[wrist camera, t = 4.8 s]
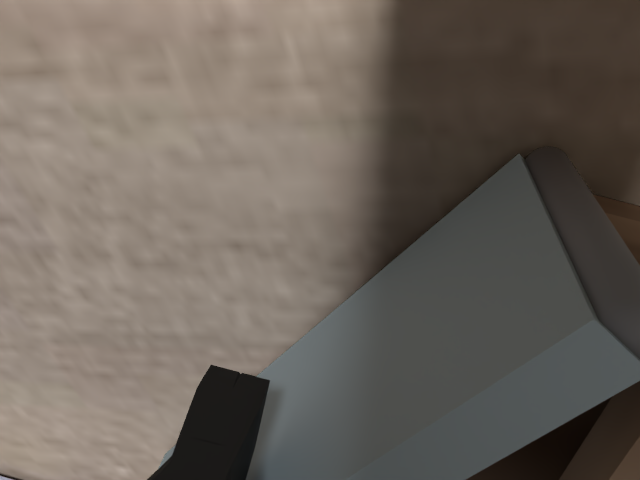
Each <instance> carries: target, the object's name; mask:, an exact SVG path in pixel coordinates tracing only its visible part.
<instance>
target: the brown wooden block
mask: <svg viewBox="0 0 640 480" xmlns="http://www.w3.org/2000/svg"><path fill="white" fill-rule="evenodd" d="M593 196H594V197H595V199H596V200H597V202H598V203H599V205H600V206H601V208H602V209H603V211H604V212H605V214H606V215H607V217H608V218H609V220H610V221H611V223H612V224H613V226H614V227H615V229H616V230H617V232H618V233H619V235H620V236H621V238H622V239H623V241H624V242H625V244H626V245H627V247H628V249H629V250H630V252H631V253H632V255H633V256H634V258H635V259H636V261H637V262H638V264H639V265H640V206H637V205H633V204H629V203H625V202H621V201H617V200H613V199H610V198H606V197H602V196H598V195H594V194H593ZM466 480H640V381H638V382H637V383H635V384H633V385H631V386H630V387H628V388H626V389H624V390H623V391H621V392H619V393H617V394H616V395H614V396H612V397H610V398H608V399H607V400H605V401H603V402H601V403H600V404H598V405H596V406H594V407H593V408H591V409H589V410H587V411H586V412H584V413H582V414H580V415H579V416H577V417H575V418H573V419H571V420H570V421H568V422H566V423H564V424H563V425H561V426H559V427H557V428H556V429H554V430H552V431H550V432H549V433H547V434H545V435H543V436H542V437H540V438H538V439H536V440H534V441H533V442H531V443H529V444H527V445H526V446H524V447H522V448H520V449H519V450H517V451H515V452H513V453H512V454H510V455H508V456H506V457H505V458H503V459H501V460H499V461H497V462H496V463H494V464H492V465H490V466H489V467H487V468H485V469H483V470H482V471H480V472H478V473H476V474H475V475H473V476H471V477H469V478H468V479H466Z"/></svg>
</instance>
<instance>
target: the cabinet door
mask: <svg viewBox="0 0 640 480" xmlns="http://www.w3.org/2000/svg"><path fill="white" fill-rule="evenodd" d="M256 377H259V378H263V379H267V380H270V383H269V388H268V392H267V397H266V401H265V406H264V410H263V415H262V419H261V423H260V428H259V432H258V437H257V441H256V446H255V449H254V453H253V456H252V460H251V463H250V467H249V470H248V474H247V477H246V480H466V479H468V478H469V477H471V476H473V475H475V474H476V473H478V472H480V471H482V470H483V469H485V468H487V467H489V466H490V465H492V464H494V463H496V462H497V461H499V460H501V459H503V458H505V457H506V456H508V455H510V454H512V453H513V452H515V451H517V450H519V449H520V448H522V447H524V446H526V445H527V444H529V443H531V442H533V441H534V440H536V439H538V438H540V437H542V436H543V435H545V434H547V433H549V432H550V431H552V430H554V429H556V428H557V427H559V426H561V425H563V424H564V423H566V422H568V421H570V420H571V419H573V418H575V417H577V416H579V415H580V414H582V413H584V412H586V411H587V410H589V409H591V408H593V407H594V406H596V405H598V404H600V403H601V402H603V401H605V400H607V399H608V398H610V397H612V396H614V395H616V394H617V393H619V392H621V391H623V390H624V389H626V388H628V387H630V386H631V385H633V384H635V383H637V382H638V381H640V265H639V264H638V262H637V261H636V259H635V258H634V256H633V255H632V253H631V252H630V250H629V249H628V247H627V245H626V244H625V242H624V241H623V239H622V238H621V236H620V235H619V233H618V232H617V230H616V229H615V227H614V226H613V224H612V223H611V221H610V220H609V218H608V217H607V215H606V214H605V212H604V211H603V209H602V208H601V206H600V205H599V203H598V202H597V200H596V199H595V197H594V196H593V194H592V193H591V191H590V190H589V188H588V187H587V185H586V184H585V182H584V181H583V179H582V178H581V176H580V175H579V173H578V172H577V170H576V169H575V167H574V166H573V164H572V163H571V161H570V160H569V158H568V156H567V155H566V154H565V153H564V152H563V151H562V150H560V149H558V148H555V147H542V148H539V149H536V150H535V151H533V152H532V153H530V154H529V155H528V156H527V158H526V159H524V158H523V157H522V156H521V155H520V154H518V155H516V156H515V157H514V158H513V159H512V160H510V161H509V162H508V163H507V164H506V165H505V166H503V167H502V168H501V169H500V170H499V171H498V172H496V173H495V174H494V175H493V176H492V177H490V178H489V179H488V180H487V181H486V182H485V183H483V184H482V185H481V186H480V187H479V188H478V189H476V190H475V191H474V192H473V193H472V194H470V195H469V196H468V197H467V198H466V199H465V200H463V201H462V202H461V203H460V204H459V205H458V206H456V207H455V208H454V209H453V210H452V211H450V212H449V213H448V214H447V215H446V216H445V217H443V218H442V219H441V220H440V221H439V222H438V223H436V224H435V225H434V226H433V227H432V228H430V229H429V230H428V231H427V232H426V233H425V234H423V235H422V236H421V237H420V238H419V239H417V240H416V241H415V242H414V243H413V244H412V245H410V246H409V247H408V248H407V249H406V250H405V251H403V252H402V253H401V254H400V255H399V256H397V257H396V258H395V259H394V260H393V261H392V262H390V263H389V264H388V265H387V266H386V267H385V268H383V269H382V270H381V271H380V272H379V273H377V274H376V275H375V276H374V277H373V278H372V279H370V280H369V281H368V282H367V283H366V284H365V285H363V286H362V287H361V288H360V289H359V290H357V291H356V292H355V293H354V294H353V295H352V296H350V297H349V298H348V299H347V300H346V301H345V302H343V303H342V304H341V305H340V306H339V307H337V308H336V309H335V310H334V311H333V312H332V313H330V314H329V315H328V316H327V317H326V318H325V319H323V320H322V321H321V322H320V323H319V324H317V325H316V326H315V327H314V328H313V329H312V330H310V331H309V332H308V333H307V334H306V335H305V336H303V337H302V338H301V339H300V340H299V341H297V342H296V343H295V344H294V345H293V346H292V347H290V348H289V349H288V350H287V351H286V352H284V353H283V354H282V355H281V356H280V357H279V358H277V359H276V360H275V361H274V362H273V363H272V364H270V365H269V366H268V367H267V368H266V369H264V370H263V371H262V372H261V373H260V374H259V375H257V376H256ZM175 446H176V445H175ZM175 446H174V447H173V448H172V449H170V450H169V451H168V452H167V453H166V454H165V456H164V458H163V460H162V462H161V464H160V466H159V468H160V467H161V466H162V465H163V464H164V463H165V462H166V461H167V460H168V459H169V458H170V457H171V456H172V454H173V451H174V449H175ZM159 468H158V469H159Z"/></svg>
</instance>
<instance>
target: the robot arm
mask: <svg viewBox="0 0 640 480" xmlns="http://www.w3.org/2000/svg"><path fill="white" fill-rule="evenodd" d="M269 383H270V380H267V379H263V378H259V377H256V376H252V375H248V374H244V373H242V374H240V373H239V372H236V371H233V370H229V369H225V368H221V367H217V366H213V365H211V366H210V368H209V369H208V371H207V372H206V374H205V375H204V377H203V379H202V381H201V382H200V384H199V386H198V388H197V390H196V392H195V395H194V397H193V400H192V403H191V405H190V408H189V411H188V413H187V416H186V419H185V422H184V424H183V427H182V430H181V432H180V435H179V438H178V441H177V443H176V446H175V449H174V451H173V454H172V456H171V457H170V458H169V459H168V460H167V461H166V462H165V463H164V464H163V465H162V466H161V467H160V468H159V469H158V470H157V471H156V472H155V473H154V474H153V475H152V476H151V477H149V478H148V479H147V480H246V477H247V474H248V470H249V467H250V463H251V460H252V456H253V453H254V449H255V446H256V441H257V437H258V432H259V428H260V423H261V419H262V415H263V410H264V406H265V401H266V397H267V392H268V388H269ZM0 480H14V479H11V478H7V477H3V476H0Z"/></svg>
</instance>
